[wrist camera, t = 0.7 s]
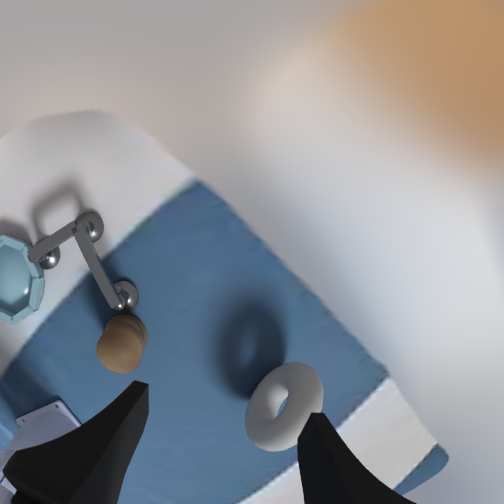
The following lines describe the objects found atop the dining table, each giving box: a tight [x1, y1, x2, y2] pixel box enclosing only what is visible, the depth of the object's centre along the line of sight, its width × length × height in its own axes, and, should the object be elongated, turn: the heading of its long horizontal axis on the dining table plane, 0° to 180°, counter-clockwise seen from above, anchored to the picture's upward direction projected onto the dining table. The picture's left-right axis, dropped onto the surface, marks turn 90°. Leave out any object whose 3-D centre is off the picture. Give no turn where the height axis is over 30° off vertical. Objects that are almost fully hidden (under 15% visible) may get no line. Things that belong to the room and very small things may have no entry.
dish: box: [0, 235, 45, 325], centre depth 22 cm, size 9×9×2 cm
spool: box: [97, 314, 147, 373], centre depth 24 cm, size 4×4×5 cm
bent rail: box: [27, 212, 139, 312], centre depth 23 cm, size 8×10×4 cm
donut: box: [245, 362, 324, 452], centre depth 26 cm, size 10×4×10 cm, turn 144°
